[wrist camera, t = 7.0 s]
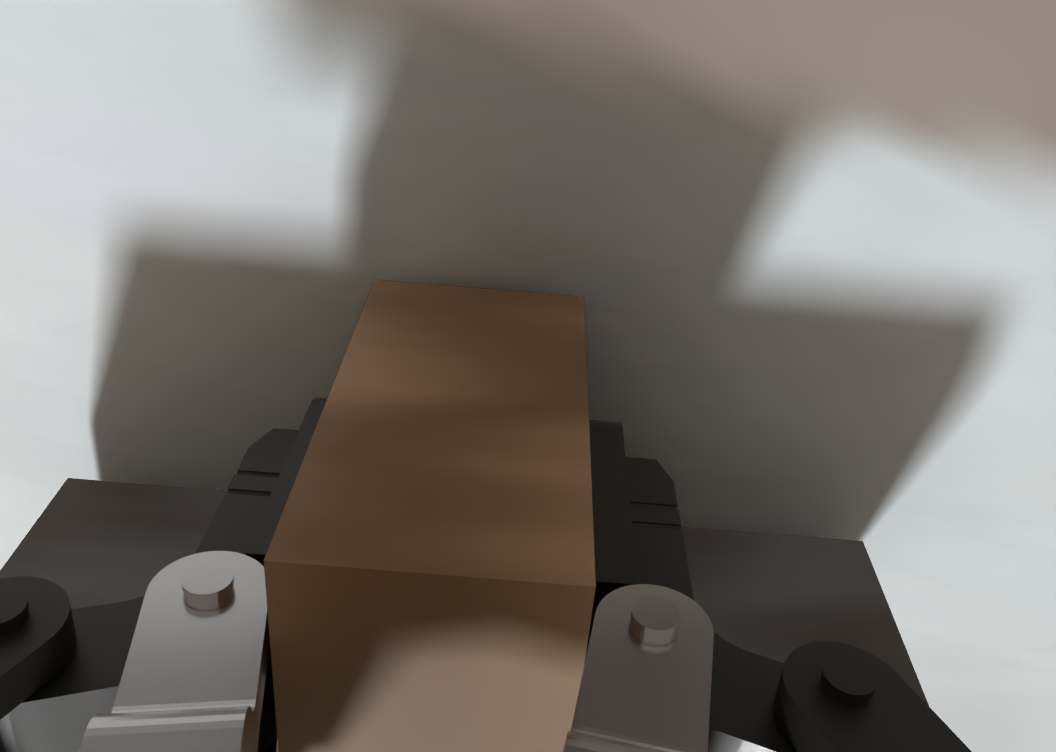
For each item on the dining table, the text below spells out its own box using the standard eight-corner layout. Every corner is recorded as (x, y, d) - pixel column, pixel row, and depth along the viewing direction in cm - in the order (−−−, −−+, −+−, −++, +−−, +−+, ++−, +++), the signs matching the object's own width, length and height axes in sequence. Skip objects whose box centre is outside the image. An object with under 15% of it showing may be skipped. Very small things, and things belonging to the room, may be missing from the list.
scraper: (932, 325, 14) (1145, 630, 9) (844, 595, 17) (971, 952, 12) (22, 251, 14) (-296, 515, 9) (79, 535, 17) (-140, 869, 11)
